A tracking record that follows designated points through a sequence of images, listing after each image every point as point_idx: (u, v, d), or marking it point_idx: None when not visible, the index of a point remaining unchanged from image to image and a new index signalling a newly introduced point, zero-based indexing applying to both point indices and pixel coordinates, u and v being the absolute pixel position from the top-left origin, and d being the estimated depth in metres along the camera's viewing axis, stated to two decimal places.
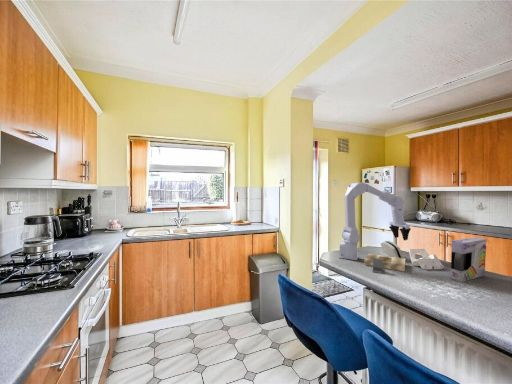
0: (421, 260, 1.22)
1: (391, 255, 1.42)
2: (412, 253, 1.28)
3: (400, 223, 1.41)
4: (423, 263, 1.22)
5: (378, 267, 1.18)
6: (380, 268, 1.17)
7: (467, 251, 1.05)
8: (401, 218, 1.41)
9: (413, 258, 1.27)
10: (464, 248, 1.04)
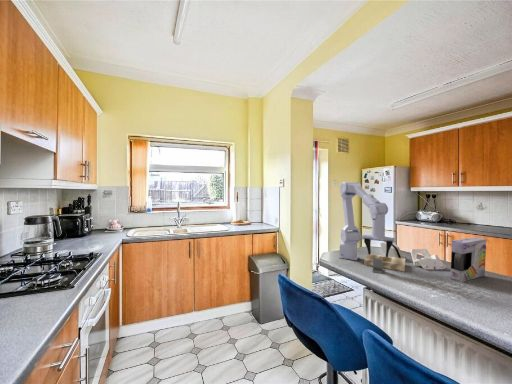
0: (422, 260, 1.22)
1: (391, 255, 1.42)
2: (414, 253, 1.28)
3: None
4: (424, 263, 1.22)
5: (378, 267, 1.18)
6: (380, 268, 1.17)
7: (467, 251, 1.05)
8: (372, 229, 1.20)
9: (415, 258, 1.27)
10: (464, 248, 1.04)
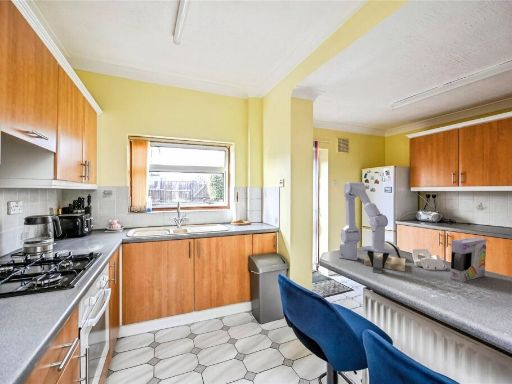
0: (423, 260, 1.22)
1: (391, 255, 1.42)
2: (415, 253, 1.28)
3: None
4: (425, 263, 1.21)
5: (378, 267, 1.18)
6: (380, 268, 1.17)
7: (467, 251, 1.05)
8: None
9: (416, 258, 1.27)
10: (464, 248, 1.04)
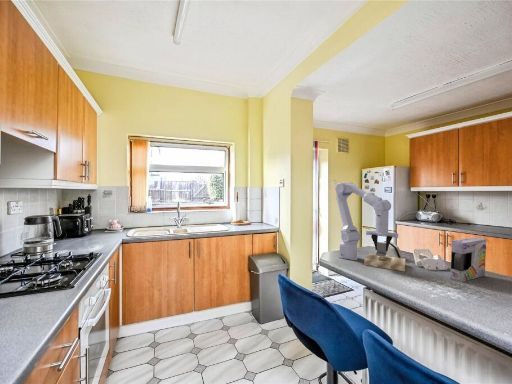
0: (424, 260, 1.22)
1: (390, 255, 1.42)
2: (416, 253, 1.28)
3: None
4: (426, 263, 1.21)
5: (382, 250, 1.22)
6: (384, 251, 1.22)
7: (467, 251, 1.05)
8: None
9: (417, 258, 1.26)
10: (464, 248, 1.04)
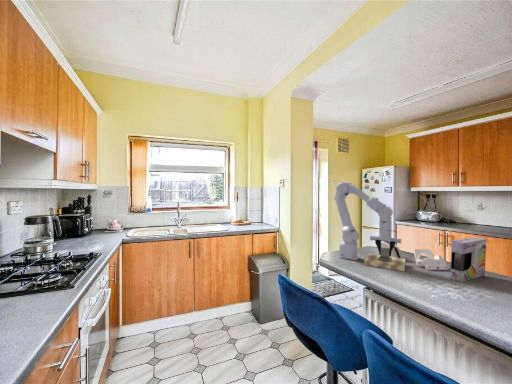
0: (425, 260, 1.22)
1: None
2: (417, 253, 1.27)
3: None
4: (427, 263, 1.21)
5: (385, 256, 1.27)
6: (387, 256, 1.26)
7: (467, 251, 1.05)
8: (379, 230, 1.29)
9: (418, 258, 1.26)
10: (464, 248, 1.04)
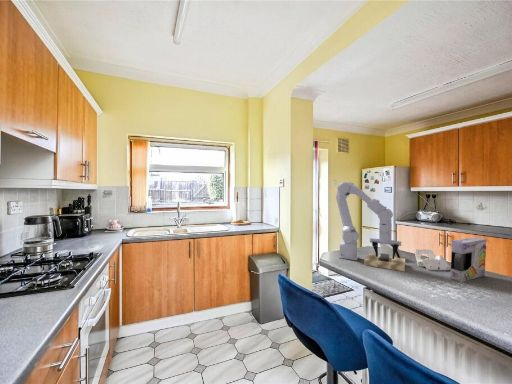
0: (426, 261, 1.22)
1: (390, 255, 1.42)
2: (418, 253, 1.27)
3: None
4: (428, 264, 1.21)
5: None
6: None
7: (467, 251, 1.05)
8: (379, 233, 1.29)
9: (419, 258, 1.26)
10: (464, 248, 1.04)
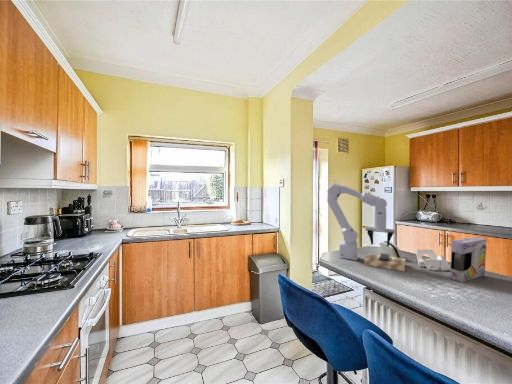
0: (427, 261, 1.21)
1: (390, 255, 1.42)
2: (419, 254, 1.27)
3: None
4: (429, 264, 1.21)
5: None
6: None
7: (467, 251, 1.05)
8: None
9: (420, 259, 1.26)
10: (464, 248, 1.04)
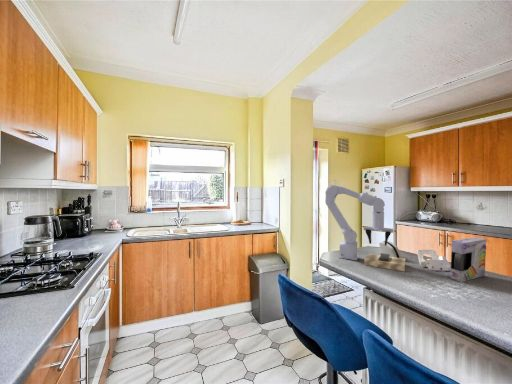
0: (428, 261, 1.21)
1: (389, 255, 1.42)
2: (420, 254, 1.27)
3: None
4: (430, 264, 1.21)
5: None
6: None
7: (467, 251, 1.05)
8: (372, 221, 1.36)
9: (421, 259, 1.26)
10: (464, 248, 1.04)
